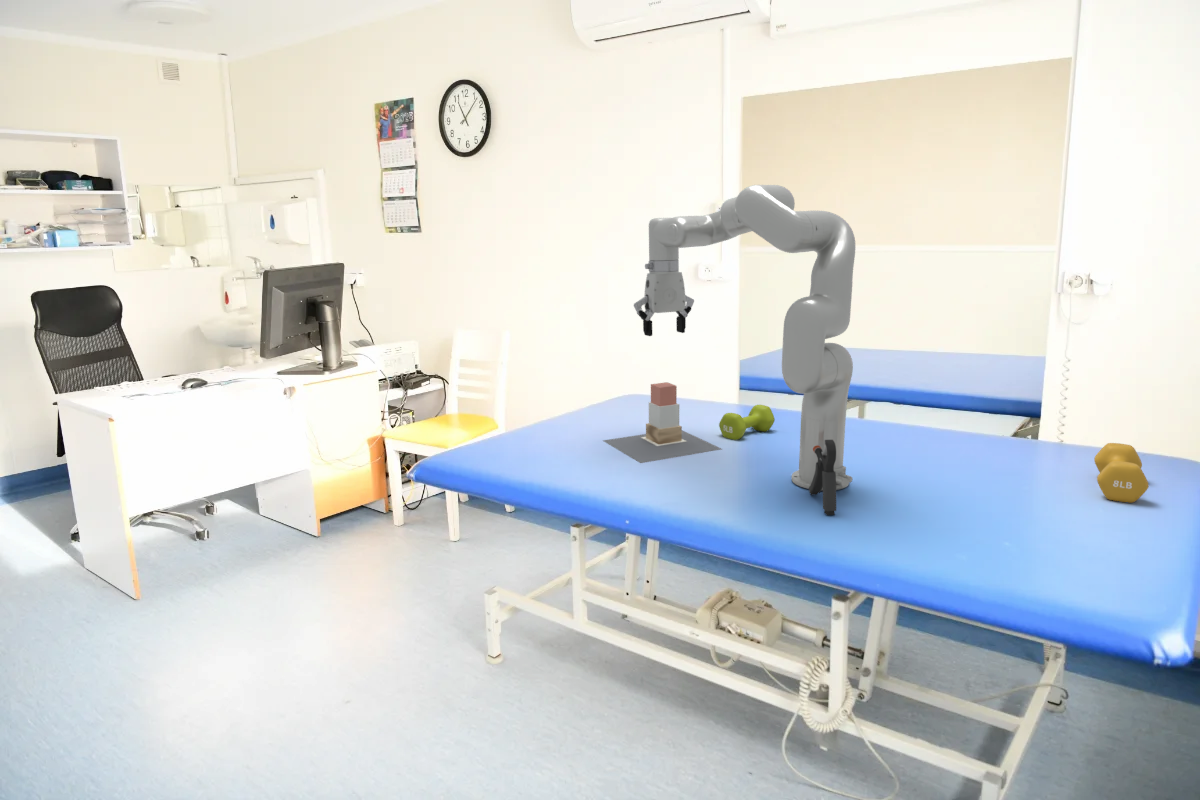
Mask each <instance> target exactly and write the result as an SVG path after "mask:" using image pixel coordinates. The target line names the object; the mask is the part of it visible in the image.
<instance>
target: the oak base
mask: <svg viewBox="0 0 1200 800" xmlns="http://www.w3.org/2000/svg"><path fill="white" fill-rule="evenodd" d="M682 427H683V426H682V425H680V424H679V426H677V427H671V428H664V429H658V428H656V427H654V426H652V425H650V424H649V422H647V423H645V434H646V438H647V439H649V440H651V441H653V442H655V443H657V444H665V443H671V442H677V441H682V429H683V428H682Z"/></svg>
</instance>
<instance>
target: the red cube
mask: <svg viewBox="0 0 1200 800" xmlns="http://www.w3.org/2000/svg"><path fill="white" fill-rule="evenodd" d="M677 390H678V389H677V385H676V384H673V383H671V382H657V383H651V384H650V402H651V403H653V404H656V405H658V406H667V405H674V404H676V403H677Z"/></svg>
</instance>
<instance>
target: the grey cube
mask: <svg viewBox="0 0 1200 800" xmlns="http://www.w3.org/2000/svg"><path fill="white" fill-rule="evenodd" d="M648 423H649V424H650V425H652V426H654V427H656V428H658V429H664V428H671V427H677V426H679V425H680V403H677V402H676V404H674V405H667V406H658V405H656V404H653V403H651V401H649V402H648Z"/></svg>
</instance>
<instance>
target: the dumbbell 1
mask: <svg viewBox="0 0 1200 800" xmlns="http://www.w3.org/2000/svg"><path fill="white" fill-rule="evenodd" d="M775 420H776V419H775V416H774V413H773V411H772V409H771V407H770V406H767V405H764V404H755V405H753V406H752V408H751V409H750V410H749V413H748V415H747V416H744V417H743V416H742V415H741V414H738V413H734V412H727V413H724V414H723V416H722V417H721V419H720V421H719V423H718V427H719V430H720V432H721V435H722V437H723V438H726V439H730V440H734V441H737V440H741V439H742V438H743V437H744V435H745V433H746V431H747V429H749V428H752V429H753V430H755V431H757V432H768V431H769V430H770V429H771V428H772V427H773V425H774V423H775Z"/></svg>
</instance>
